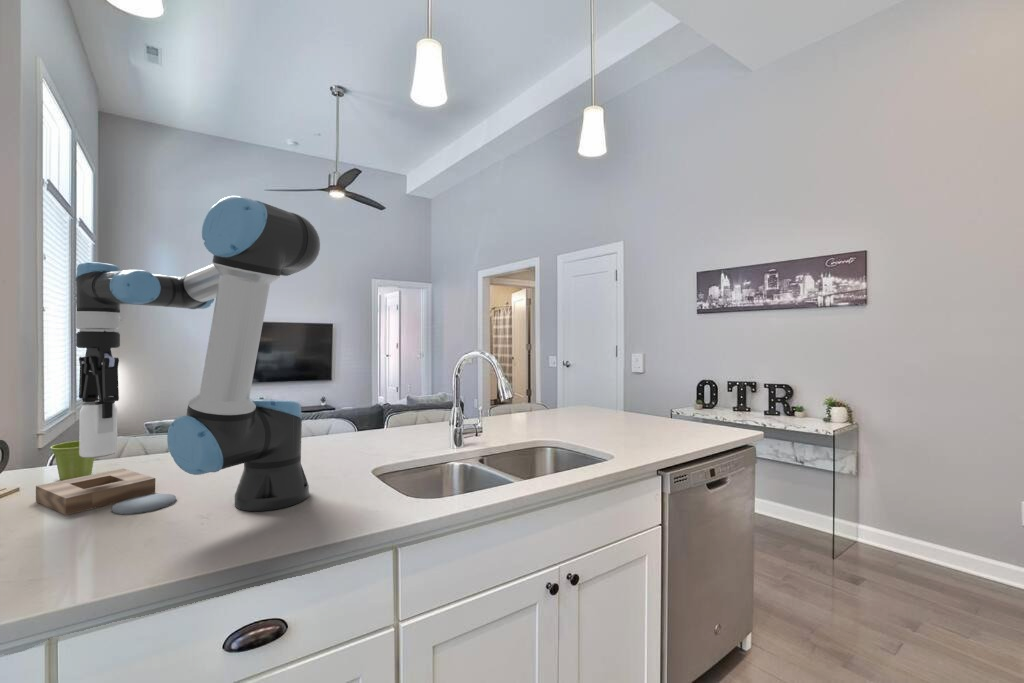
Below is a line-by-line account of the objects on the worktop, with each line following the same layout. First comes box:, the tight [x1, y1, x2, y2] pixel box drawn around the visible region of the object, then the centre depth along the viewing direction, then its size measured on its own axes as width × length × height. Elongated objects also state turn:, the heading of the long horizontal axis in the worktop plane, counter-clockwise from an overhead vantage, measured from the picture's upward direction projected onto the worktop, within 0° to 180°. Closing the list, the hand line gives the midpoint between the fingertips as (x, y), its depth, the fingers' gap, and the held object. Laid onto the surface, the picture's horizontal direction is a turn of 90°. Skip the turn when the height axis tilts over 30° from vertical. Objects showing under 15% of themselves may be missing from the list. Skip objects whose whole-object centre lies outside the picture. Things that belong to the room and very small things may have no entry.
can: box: [78, 402, 118, 459], centre depth 105 cm, size 6×6×12 cm
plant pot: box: [50, 440, 95, 481], centre depth 120 cm, size 9×9×9 cm
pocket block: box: [35, 468, 156, 516], centre depth 106 cm, size 16×16×4 cm
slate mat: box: [111, 493, 177, 515], centre depth 101 cm, size 11×11×1 cm
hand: (98, 430), depth 105 cm, fingers closed on can, 6 cm apart
